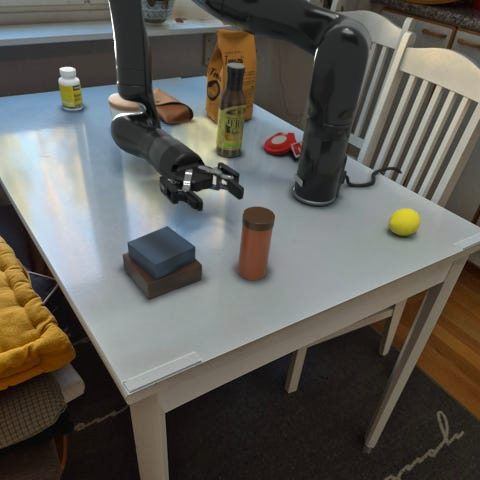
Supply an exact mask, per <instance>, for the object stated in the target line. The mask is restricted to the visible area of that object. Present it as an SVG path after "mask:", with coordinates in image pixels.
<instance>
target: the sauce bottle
mask: <svg viewBox="0 0 480 480" xmlns="http://www.w3.org/2000/svg"><path fill="white" fill-rule="evenodd" d="M226 71H227V81H226V88H225V89H224V91H223V92H222V93H221V95H220V105H219V112H218V123H217V127H216V128H217V129H216V141H215V145H216V148H215V151H216V153H217V154H218V155H220V156H222V157H226V158H235V157H238V156H239V155H240V154H241V149H242V144H243V137H244V127H245V121H244V118H245V110H246V97H245V95H244V92H243V90H242V89H243V77H244V73H245V66H244V65H242V64H239V63H229V64H227V70H226Z"/></svg>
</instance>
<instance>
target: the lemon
mask: <svg viewBox="0 0 480 480" xmlns="http://www.w3.org/2000/svg"><path fill="white" fill-rule="evenodd" d="M420 225H421V217H420V215H419V213H418V212H417V211H416V210H414V209H413V208H408V207H404V208H400V209H397V210H396V211H395V212H393V213H392V214H391V216H390V218H389V221H388V227H389V229H390V230H391V232H393V233H394V234H395V235H398V236H411V235H412V234H414V233H415V232H416V231H417V230H419V228H420Z"/></svg>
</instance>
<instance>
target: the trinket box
mask: <svg viewBox="0 0 480 480" xmlns="http://www.w3.org/2000/svg"><path fill="white" fill-rule="evenodd" d="M107 101H108V105H109V113H110V117H111V119H112V120H113V119H114V118H115V117H116V116H117V115H120V114H126V113H140V108H139V106H138V104H137V103H135V102H130V101H126V100H123V99H122V98H120V96H119V94H118V92H116V93H112V94H111V95H110V96H109V97H108V100H107Z"/></svg>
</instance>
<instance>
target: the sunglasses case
mask: <svg viewBox="0 0 480 480" xmlns="http://www.w3.org/2000/svg"><path fill="white" fill-rule="evenodd" d="M153 95H154V99H155V104H156V108H157V112H158V116H159V119H160V121H163V122H164V123H166V124H168V125H179V124H184V123H189V122H191V121H192V120H193V119H194V110H193V109H192V108H191V107H190V106H189V105H187V104H186V103H183V102H182V101H180V100H178V99H177V98H176V97H174V96H172V95H170V94H169V93H167V92H165V91H163V90H162V89H160V88H159V87H158V86H156V87H155V88H154V89H153Z"/></svg>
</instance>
